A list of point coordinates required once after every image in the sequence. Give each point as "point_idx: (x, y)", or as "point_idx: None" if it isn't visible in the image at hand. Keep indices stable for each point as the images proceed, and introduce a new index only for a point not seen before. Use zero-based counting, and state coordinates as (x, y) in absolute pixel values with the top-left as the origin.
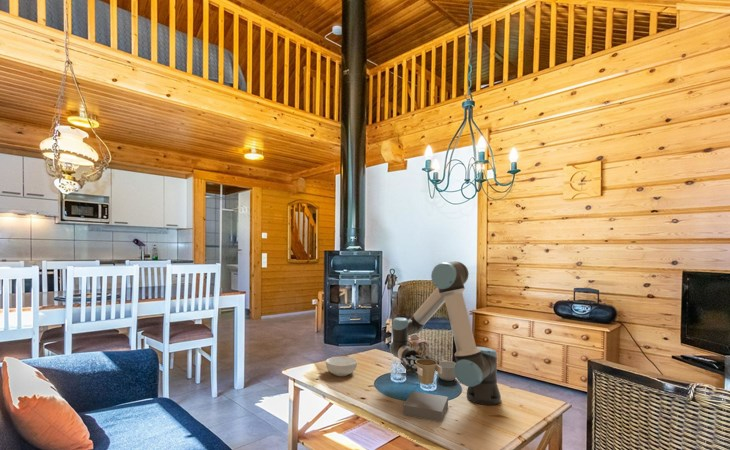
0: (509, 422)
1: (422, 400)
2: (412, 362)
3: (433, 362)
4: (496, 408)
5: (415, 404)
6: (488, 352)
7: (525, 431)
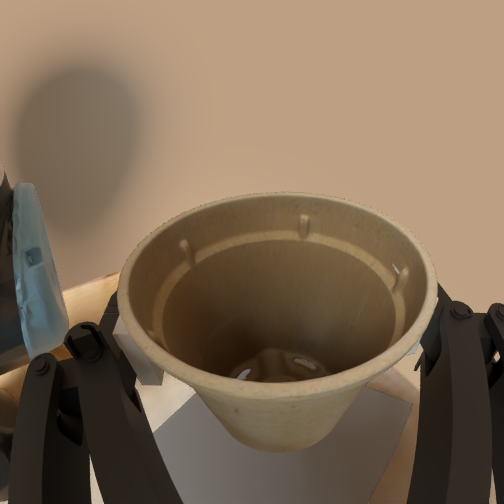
0: (69, 317)
1: (297, 452)
2: (466, 387)
3: (142, 306)
4: (21, 381)
5: (352, 409)
6: None
7: (82, 284)
